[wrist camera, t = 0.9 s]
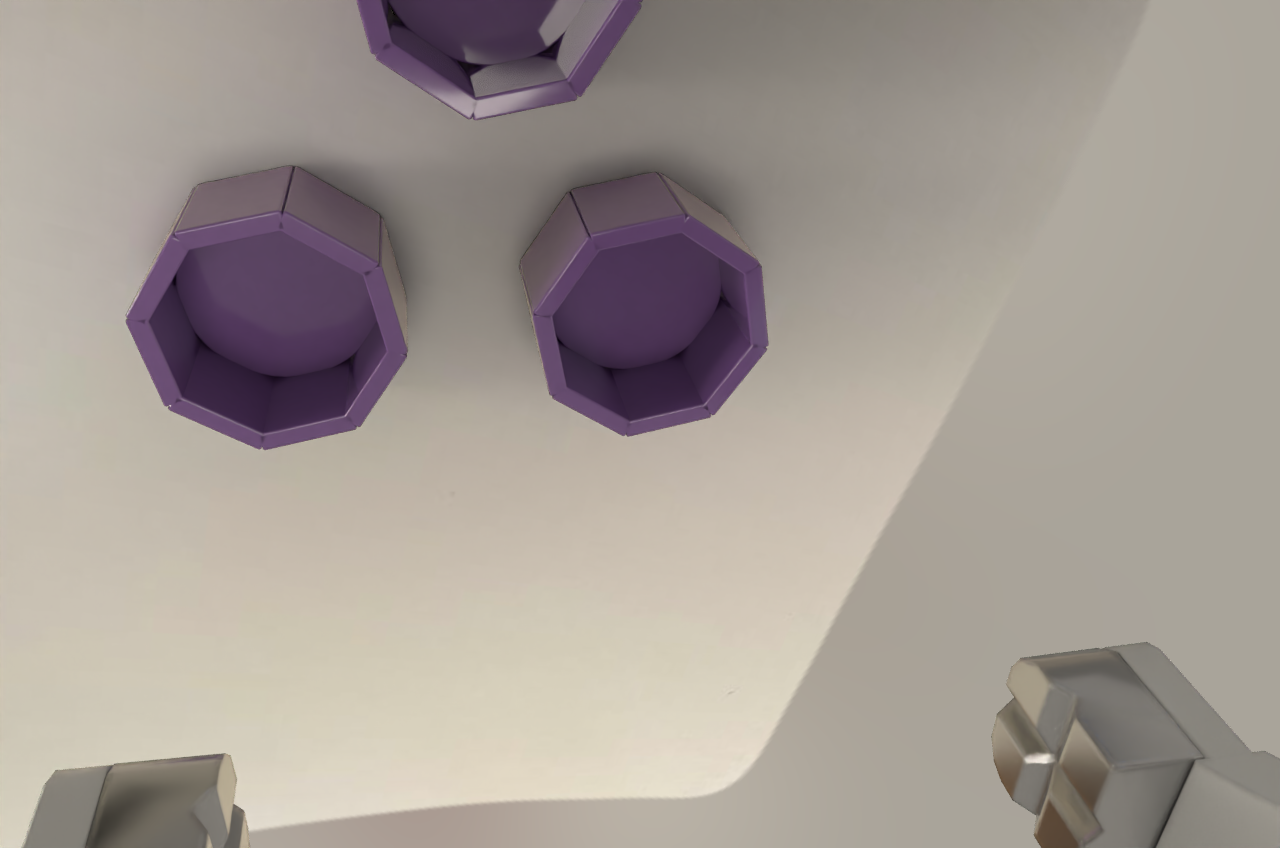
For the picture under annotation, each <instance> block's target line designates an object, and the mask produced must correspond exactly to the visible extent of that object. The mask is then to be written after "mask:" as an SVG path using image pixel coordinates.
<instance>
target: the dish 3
mask: <svg viewBox="0 0 1280 848" xmlns="http://www.w3.org/2000/svg"><path fill="white" fill-rule="evenodd" d="M520 264H521V265H519V269H520V274H521V278H522V283H523V287H524V291H525V296H526V300H527V305H528V309H529V314H530V318H531V323H532V327H533V331H534V336H535V340H536V344H537V348H538V352H539V356H540V360H541V363H542V367H543V371H544V375H545V379H546V383H547V387H548V391H549V394H550V395H551V396H552V398H553V399H554V400H556V401H558V402H560V403H562V404H564V405H566V406H567V407H569V408H571V409H573V410H575V411H577V412H579V413H581V414H583V415H584V416H586V417H588V418H590V419H592V420H594V421H596V422H598V423H599V424H601V425H603V426H605V427H607V428H609V429H611V430H613V431H615V432H616V433H618V434H620V435H622V436H625V435H627V436H633V435H638V434H642V433H646V432H651V431H655V430H659V429H663V428H668V427H672V426H676V425H680V424H685V423H689V422H693V421H698V420H702V419H706V418H710V417H711V414H712V415H714V414H715V413H716V412H717V411H718V410H719V409H720V407H721V406H722V405H723V404H724V402H725V401H726V400H727V399H728V397H729V396H730V395H731V394H732V392H733V391H734V390H735V389H736V388H737V386H738V385H739V384H740V383H741V381H742V380H743V379H744V378H745V376H746V375H747V374H748V373H749V372H750V370H751V369H752V368H753V367H754V365H755V364H756V363H757V362H758V360H759V359H760V358H761V357H762V355H763V354H764V353H765V352H766V350H767V348H766V347H767V346H768V344H769V343H768V332H767V320H766V309H765V298H764V286H763V275H762V266H761V264H760V263H759V261H758V259H757V258H756V257H755V256H754V254H753V253H752V252H751V250H750V249H749V248H748V246H747V245H746V244H745V243H744V241H743V240H742V239H741V237H740V236H739V235H738V233H737V232H736V231H735V230H734V228H733V227H732V226H731V224H730V223H729V222H728V220H727V219H726V218H725V217H724V216H723V215H722V214H720V213H719V212H717V211H716V210H714V209H713V208H711V207H710V206H709V205H707V204H706V203H704V202H703V201H701V200H700V199H698V198H697V197H695V196H694V195H692V194H691V193H690V192H688V191H687V190H685V189H684V188H682V187H681V186H679V185H678V184H676V183H675V182H674V181H672V180H671V179H669V178H668V177H666V176H665V175H663V174H662V173H659V174H657V172H652V173H647V174H642V175H637V176H633V177H628V178H623V179H618V180H614V181H609V182H604V183H599V184H595V185H590V186H585V187H580V188H576V189H572V190H571V193H570V192H568V193H566V195H565V196H564V198H563V199H562V201H561V202H560V204H559V205H558V206H557V208H556V209H555V211H554V212H553V214H552V215H551V217H550V218H549V220H548V221H547V222H546V224H545V225H544V227H543V228H542V230H541V231H540V233H539V234H538V236H537V237H536V238H535V240H534V241H533V243H532V244H531V246H530V247H529V249H528V250H527V251H526V253H525V254H524V256H523V257H522V259H521V260H520Z"/></svg>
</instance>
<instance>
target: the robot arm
mask: <svg viewBox="0 0 1280 848" xmlns="http://www.w3.org/2000/svg"><path fill="white" fill-rule="evenodd" d="M1006 685H1007V687H1008V688H1009V690H1010V691H1011V693H1012V695H1013V696H1014V698H1013V699H1012V700H1011V701H1010V702H1009V703H1008V704H1007V705H1006V706H1005V707H1004V708H1003V709H1002V710H1001V711H1000V712H998V714H997V716H996V720H995V724H994V728H993V732H992V736H991V738H992V747H993V756H994V762H995V765H996V768H997V771H998V774H999V776H1000V779H1001V781H1002V783H1003V785H1004V786H1005V788H1006V790H1007V792H1008V793H1009V795H1010V797H1011V798H1012V800H1013V801H1015V802H1016V803H1018V804H1019V805H1021V806H1022V807H1024V808H1026V809H1027V810H1028V811H1030V812H1032V813H1033V814H1035V815H1036V821H1035V828H1034V836H1035V838H1036V840H1037V841H1038V843H1039V845H1040V846H1041V848H1280V759H1279V758H1277V757H1275V756H1274V755H1272V754H1270V753H1268V752H1266V751H1259V752H1251V751H1250V750H1249V748H1248V747H1247V746H1246V745H1245V744H1244V743H1243V742H1242V741H1241V740H1240V738H1239V737H1238V736H1237V735H1236V734H1235V733H1234V732H1233V731H1232V729H1231V728H1230V727H1229V726H1228V725H1227V724H1226V723H1225V722H1224V720H1223V719H1222V718H1221V717H1220V716H1219V715H1218V714H1217V712H1216V711H1215V710H1214V709H1213V708H1212V707H1211V706H1210V705H1209V704H1208V702H1207V701H1206V700H1205V699H1204V698H1203V697H1202V696H1201V695H1200V693H1199V692H1198V691H1197V690H1196V689H1195V688H1194V687H1193V686H1192V685H1191V683H1190V682H1189V681H1188V680H1187V679H1186V678H1185V677H1184V675H1182V673H1181V672H1180V671H1179V670H1178V669H1177V668H1176V667H1175V665H1174V664H1173V663H1172V662H1171V661H1170V660H1169V659H1168V657H1167V656H1166V655H1165V654H1164V653H1163V652H1162V651H1161V650H1160V649H1159V648H1157V647H1155V646H1153V645H1151V644H1150V643H1148V642H1144V643H1136V644H1128V645H1120V646H1112V647H1105V648H1102V649H1100V648H1094V649H1086V650H1078V651H1071V652H1063V653H1055V654H1048V655H1040V656H1032V657H1025V658H1020V659H1019V660H1018V661H1017V662H1016V663H1015V664H1014V665H1013V666H1012V668H1011V670H1010V674H1009V677H1008V680H1007V683H1006ZM236 783H237V777H236V773H235V770H234V766H233V762H232V759H231V755H228V754H225V753H224V754H213V755H202V756H192V757H181V758H171V759H160V760H150V761H139V762H128V763H118V764H114V765H106V766H95V767H85V768H75V769H65V770H55V772H54V773H53V774H52V776H51V777H50V778H49V779H48V781H47V782H46V783H45V785H44V786H43V788H42V791H41V794H40V797H39V800H38V802H37V805H36V808H35V811H34V814H33V817H32V819H31V822H30V825H29V828H28V831H27V833H26V836H25V839H24V842H23V845H22V848H250V843H249V833H248V826H247V821H246V817H245V812H244V810H242V809H241V808H239V807H238V806H236V805H235V804H233V803H234V796H235V789H236Z"/></svg>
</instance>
